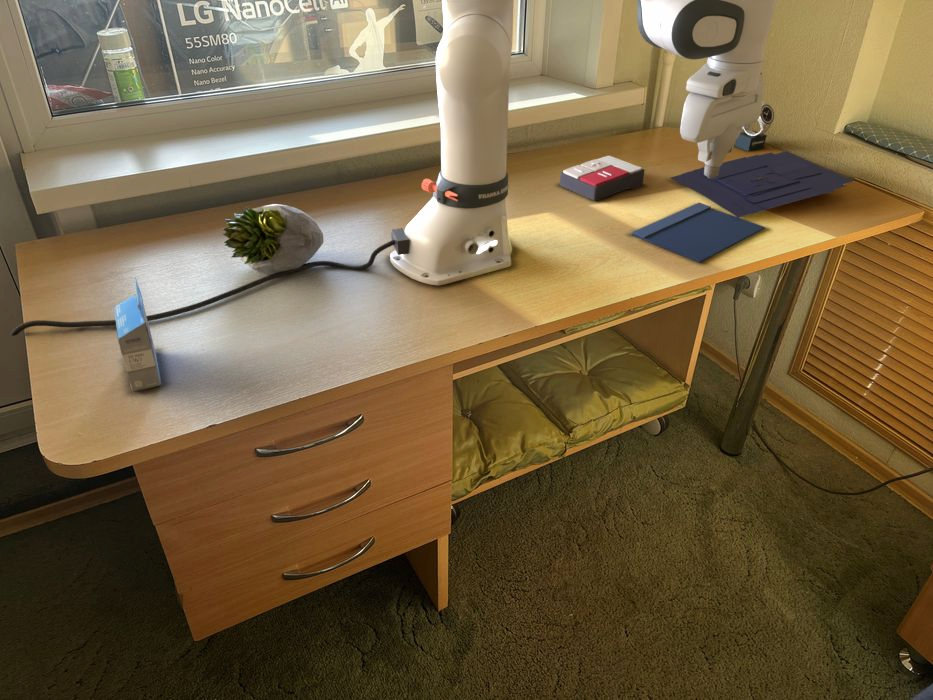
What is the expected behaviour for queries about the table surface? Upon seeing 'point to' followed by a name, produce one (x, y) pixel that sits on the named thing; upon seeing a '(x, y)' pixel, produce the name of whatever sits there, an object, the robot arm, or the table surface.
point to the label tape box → (136, 343)
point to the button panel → (602, 177)
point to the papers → (763, 182)
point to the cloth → (698, 232)
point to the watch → (752, 138)
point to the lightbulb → (720, 150)
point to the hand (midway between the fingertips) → (714, 156)
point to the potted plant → (273, 238)
